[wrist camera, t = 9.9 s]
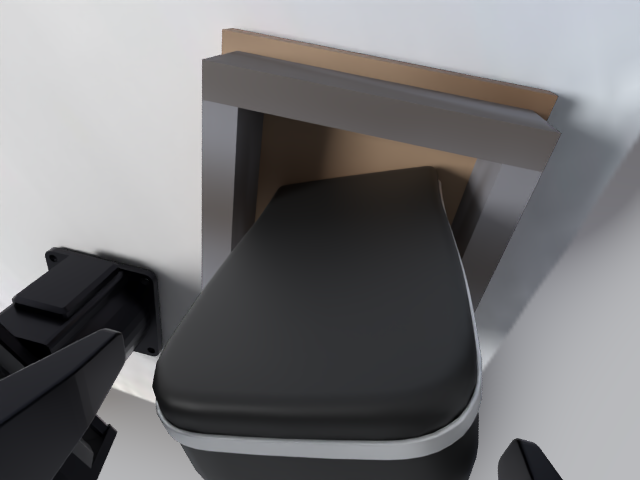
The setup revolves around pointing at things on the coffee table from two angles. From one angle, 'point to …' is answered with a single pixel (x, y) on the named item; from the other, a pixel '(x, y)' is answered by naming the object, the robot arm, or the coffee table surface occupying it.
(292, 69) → the dock
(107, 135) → the coffee table surface
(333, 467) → the battery charger
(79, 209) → the coffee table surface
